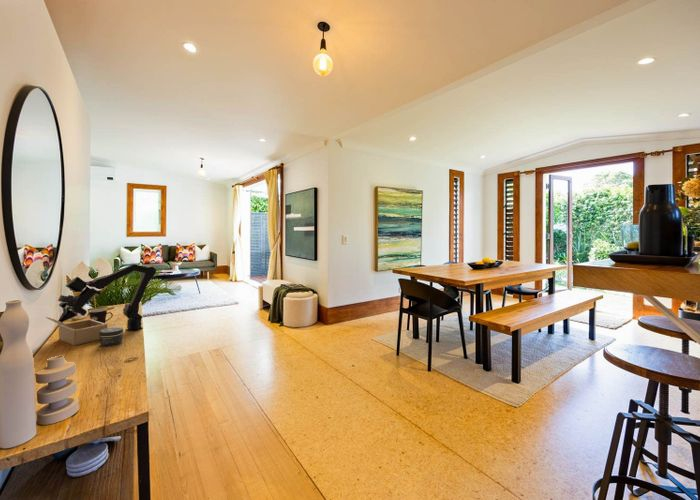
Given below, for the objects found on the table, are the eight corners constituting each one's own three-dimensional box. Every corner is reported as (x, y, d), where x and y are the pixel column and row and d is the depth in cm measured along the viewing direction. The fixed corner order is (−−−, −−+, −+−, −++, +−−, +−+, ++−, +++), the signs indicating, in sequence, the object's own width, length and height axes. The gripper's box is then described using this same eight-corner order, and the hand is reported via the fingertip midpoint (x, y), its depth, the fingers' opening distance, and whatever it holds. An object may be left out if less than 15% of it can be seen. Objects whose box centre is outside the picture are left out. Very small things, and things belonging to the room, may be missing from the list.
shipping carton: (91, 332, 181) (91, 318, 180) (107, 338, 171) (107, 324, 171) (58, 339, 168) (58, 324, 167) (74, 346, 159) (74, 330, 158)
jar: (118, 346, 160) (118, 331, 160) (95, 348, 157) (95, 333, 157) (126, 340, 170) (126, 326, 169) (104, 341, 166) (104, 327, 166)
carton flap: (59, 323, 167) (46, 316, 163) (74, 328, 159) (61, 322, 154) (58, 324, 167) (46, 317, 162) (73, 329, 159) (60, 322, 154)
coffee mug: (85, 327, 189) (85, 311, 189) (100, 323, 198) (100, 308, 197) (99, 329, 186) (99, 313, 186) (114, 325, 194) (114, 310, 194)
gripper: (62, 287, 168) (35, 311, 159) (78, 290, 159) (50, 317, 150) (81, 298, 176) (56, 323, 167) (97, 302, 167) (72, 328, 158)
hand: (58, 322), depth 160 cm, fingers closed, pressing on carton flap
